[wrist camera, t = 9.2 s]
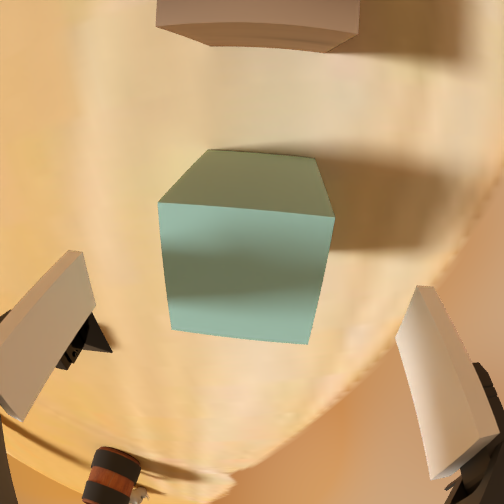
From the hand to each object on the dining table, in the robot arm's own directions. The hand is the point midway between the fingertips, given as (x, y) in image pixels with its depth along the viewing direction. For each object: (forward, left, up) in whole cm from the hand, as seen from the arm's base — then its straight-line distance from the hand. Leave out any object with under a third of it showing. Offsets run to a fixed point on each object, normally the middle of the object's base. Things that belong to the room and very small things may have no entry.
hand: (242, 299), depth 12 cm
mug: (+50, -22, -9) cm, 55 cm away
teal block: (0, 0, -9) cm, 9 cm away
